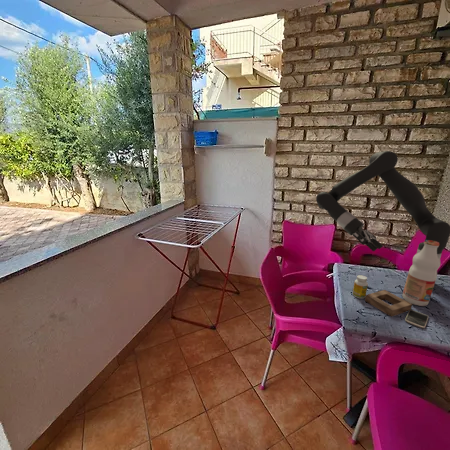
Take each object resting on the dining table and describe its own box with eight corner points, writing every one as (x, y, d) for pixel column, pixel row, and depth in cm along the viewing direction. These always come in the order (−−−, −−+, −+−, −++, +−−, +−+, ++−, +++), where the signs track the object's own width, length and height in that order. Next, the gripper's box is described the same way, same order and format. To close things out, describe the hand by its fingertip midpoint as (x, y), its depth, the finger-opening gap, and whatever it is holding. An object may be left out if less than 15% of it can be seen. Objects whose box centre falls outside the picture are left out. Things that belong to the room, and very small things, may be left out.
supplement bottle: (356, 291, 115) (359, 273, 113) (367, 296, 111) (371, 278, 109) (349, 294, 113) (353, 276, 110) (361, 300, 108) (365, 281, 106)
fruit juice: (400, 292, 114) (416, 236, 107) (425, 298, 110) (443, 240, 102) (403, 302, 106) (420, 242, 99) (430, 309, 102) (449, 247, 95)
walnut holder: (383, 295, 112) (384, 289, 111) (410, 310, 101) (412, 304, 101) (364, 300, 108) (366, 294, 107) (391, 316, 97) (392, 310, 96)
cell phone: (403, 323, 94) (404, 320, 94) (409, 310, 102) (410, 308, 101) (423, 331, 90) (424, 327, 90) (428, 317, 98) (429, 314, 97)
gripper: (349, 217, 106) (380, 244, 98) (360, 216, 116) (389, 241, 108) (338, 229, 110) (366, 256, 102) (349, 228, 120) (376, 252, 112)
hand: (378, 248), depth 105 cm, fingers open, 8 cm apart
